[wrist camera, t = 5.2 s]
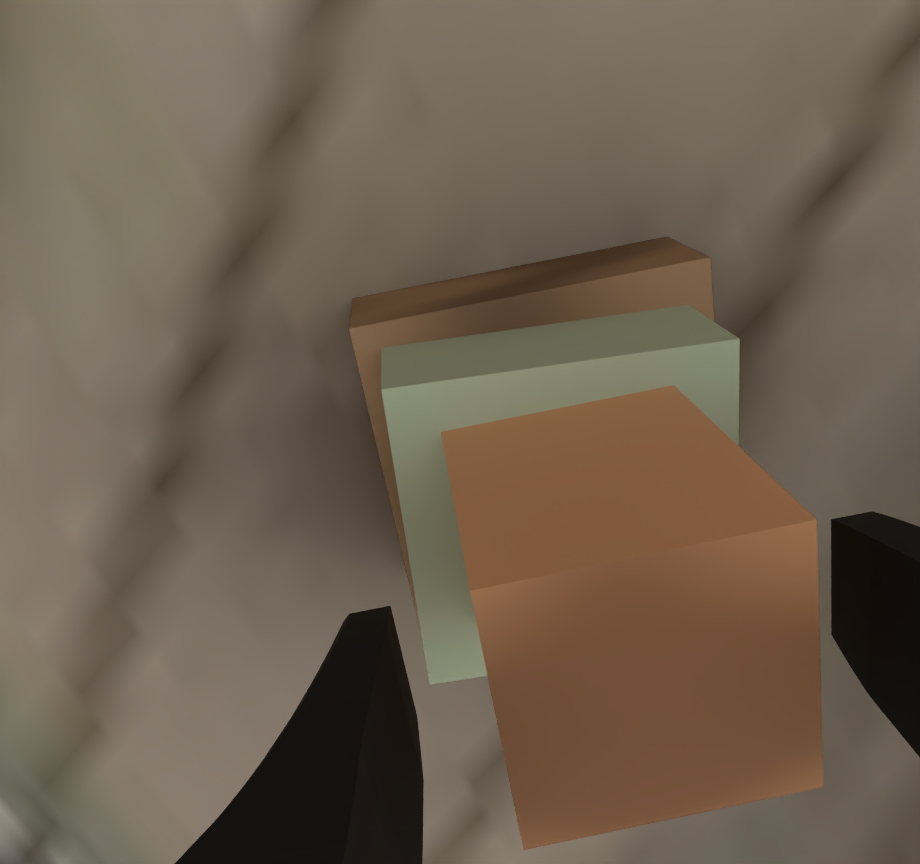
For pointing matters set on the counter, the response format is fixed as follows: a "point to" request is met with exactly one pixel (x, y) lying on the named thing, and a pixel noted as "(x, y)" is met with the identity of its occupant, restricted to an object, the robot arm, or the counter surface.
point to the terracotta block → (638, 614)
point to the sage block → (515, 394)
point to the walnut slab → (519, 313)
